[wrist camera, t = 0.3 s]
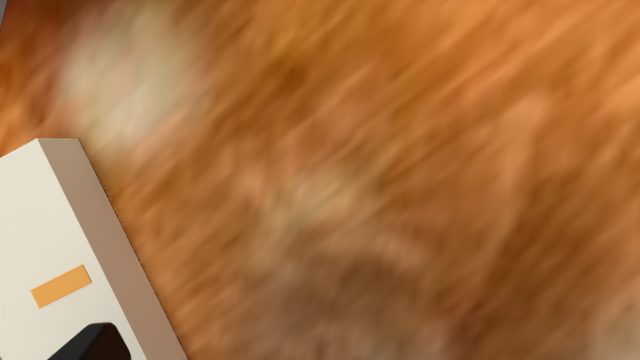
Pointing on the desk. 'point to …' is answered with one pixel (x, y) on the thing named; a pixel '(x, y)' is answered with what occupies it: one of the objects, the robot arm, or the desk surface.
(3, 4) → the smartphone
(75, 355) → the robot arm
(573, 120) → the desk surface
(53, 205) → the block
